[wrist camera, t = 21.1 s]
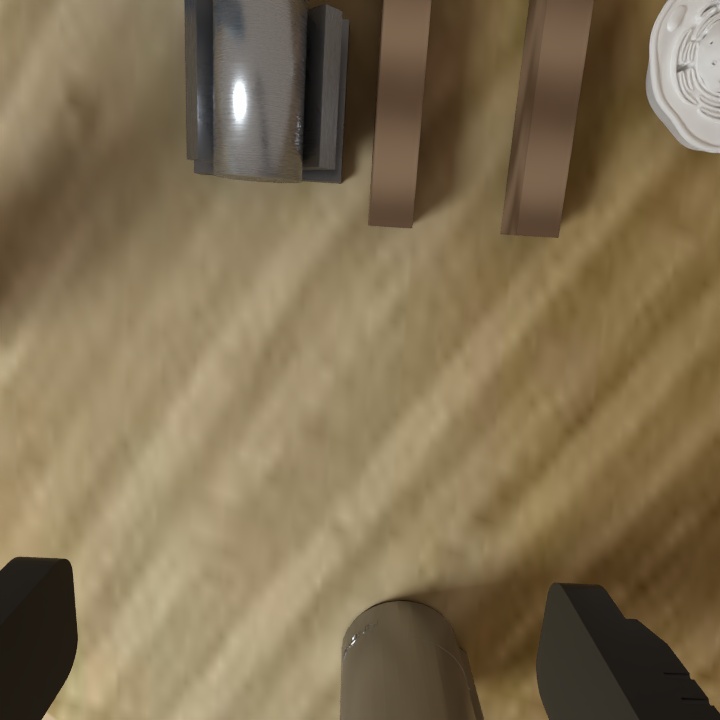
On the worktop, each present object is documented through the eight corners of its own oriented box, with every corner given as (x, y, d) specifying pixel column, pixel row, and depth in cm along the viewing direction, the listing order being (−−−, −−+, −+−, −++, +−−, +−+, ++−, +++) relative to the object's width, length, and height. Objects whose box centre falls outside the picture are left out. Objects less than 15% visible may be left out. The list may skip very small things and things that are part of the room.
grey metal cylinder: (301, 184, 32) (301, 178, 28) (220, 178, 32) (206, 171, 27) (309, -44, 29) (310, -94, 25) (220, -55, 29) (204, -108, 24)
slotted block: (538, 236, 35) (558, 237, 32) (368, 225, 35) (369, 225, 31) (572, -6, 32) (599, -34, 28) (384, -21, 31) (387, -51, 28)
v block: (341, 183, 34) (339, 177, 30) (199, 174, 34) (176, 166, 30) (349, 25, 32) (348, -6, 28) (197, 13, 32) (173, -20, 27)
